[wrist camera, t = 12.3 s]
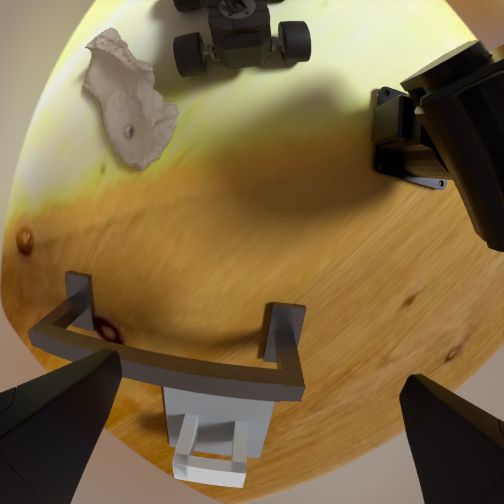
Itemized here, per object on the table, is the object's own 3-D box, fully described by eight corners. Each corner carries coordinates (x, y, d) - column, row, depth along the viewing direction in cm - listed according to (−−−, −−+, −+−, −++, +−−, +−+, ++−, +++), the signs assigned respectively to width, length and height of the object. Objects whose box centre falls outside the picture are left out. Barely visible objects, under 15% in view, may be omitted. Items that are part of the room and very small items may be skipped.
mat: (275, 397, 23) (275, 400, 23) (259, 455, 26) (259, 458, 26) (164, 382, 23) (163, 385, 23) (170, 443, 26) (169, 445, 25)
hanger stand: (304, 305, 21) (323, 361, 14) (292, 359, 22) (303, 421, 15) (69, 270, 21) (16, 303, 14) (75, 322, 22) (32, 363, 15)
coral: (141, 182, 19) (112, 185, 15) (80, 84, 17) (47, 72, 12) (205, 132, 18) (190, 121, 14) (134, 38, 16) (109, 14, 12)
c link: (244, 439, 25) (242, 487, 19) (186, 431, 24) (174, 478, 18) (248, 422, 24) (245, 473, 18) (185, 413, 24) (172, 462, 18)
